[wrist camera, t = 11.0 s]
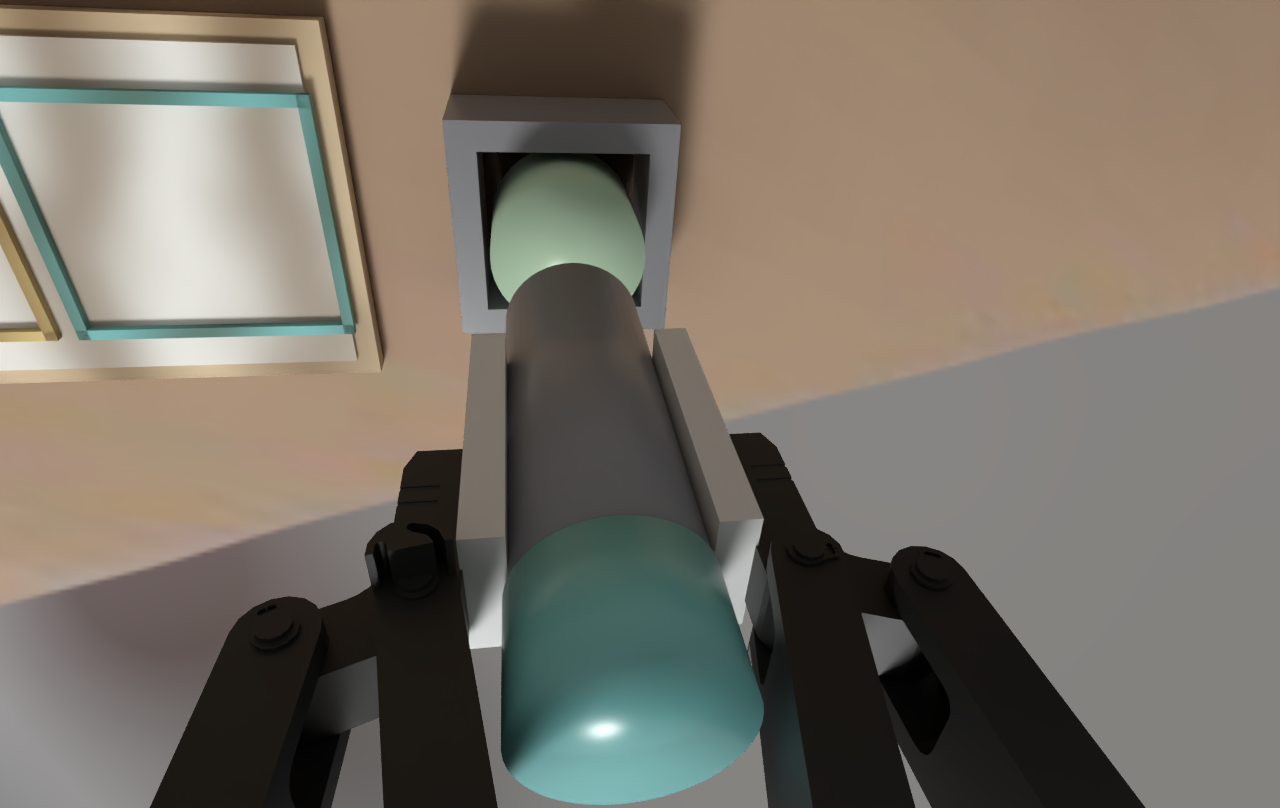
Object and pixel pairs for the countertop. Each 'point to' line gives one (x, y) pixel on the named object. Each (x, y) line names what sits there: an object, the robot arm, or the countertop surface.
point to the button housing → (558, 130)
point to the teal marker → (608, 565)
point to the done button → (563, 220)
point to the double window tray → (175, 199)
